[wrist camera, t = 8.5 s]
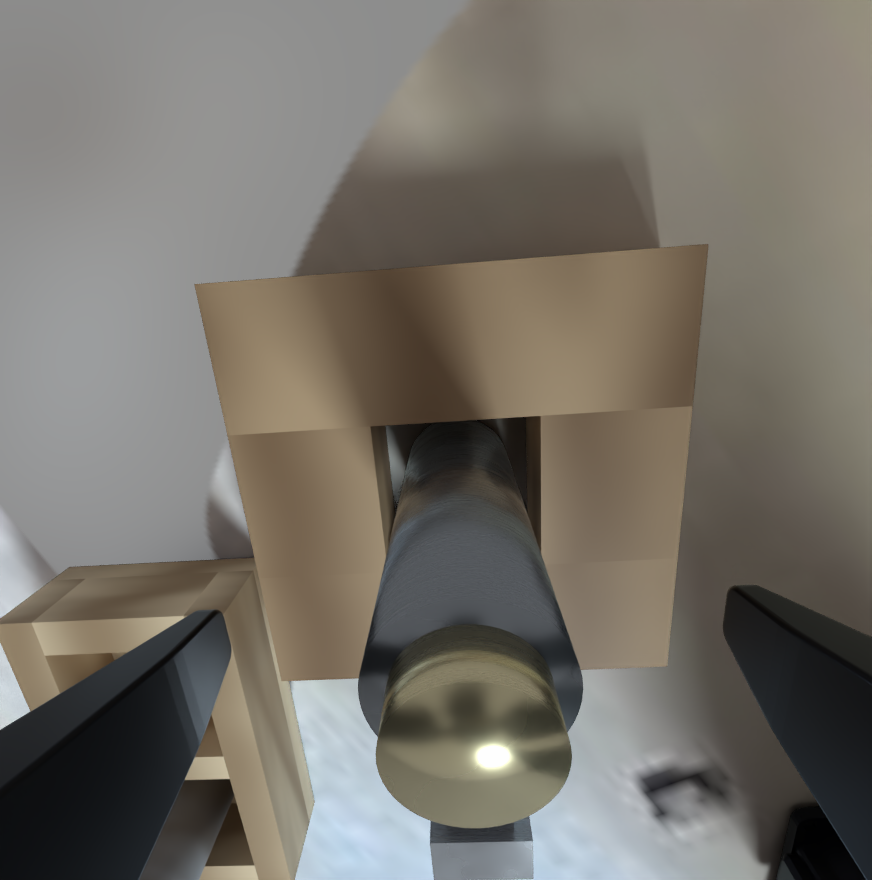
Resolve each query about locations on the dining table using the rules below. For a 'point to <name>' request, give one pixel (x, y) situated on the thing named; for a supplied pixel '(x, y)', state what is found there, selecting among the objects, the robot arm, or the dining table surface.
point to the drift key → (482, 852)
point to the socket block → (459, 399)
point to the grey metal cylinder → (468, 643)
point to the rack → (232, 720)
